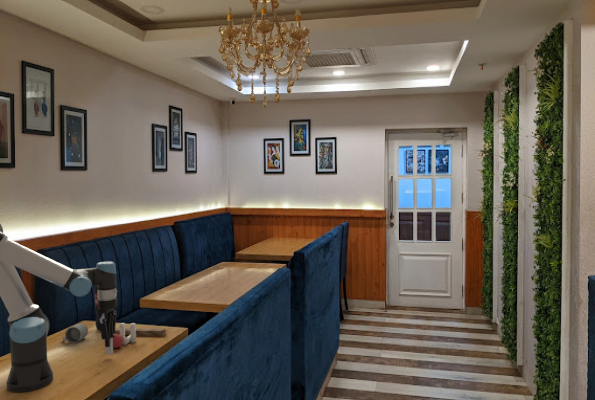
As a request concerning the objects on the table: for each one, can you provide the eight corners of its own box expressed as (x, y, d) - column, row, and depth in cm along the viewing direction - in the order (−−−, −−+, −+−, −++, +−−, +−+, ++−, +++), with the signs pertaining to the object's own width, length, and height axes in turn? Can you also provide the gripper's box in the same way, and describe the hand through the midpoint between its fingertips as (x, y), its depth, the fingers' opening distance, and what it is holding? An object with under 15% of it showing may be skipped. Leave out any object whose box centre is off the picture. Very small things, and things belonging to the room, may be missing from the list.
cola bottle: (100, 326, 241) (98, 268, 239) (116, 326, 240) (114, 268, 239) (92, 331, 232) (90, 272, 231) (109, 331, 232) (107, 272, 230)
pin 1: (120, 343, 215) (119, 325, 215) (119, 341, 217) (119, 323, 217) (125, 342, 216) (125, 324, 216) (125, 340, 218) (124, 322, 218)
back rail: (165, 333, 227) (165, 328, 227) (163, 335, 224) (163, 330, 224) (117, 333, 229) (117, 328, 229) (115, 335, 226) (114, 330, 226)
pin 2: (130, 343, 215) (130, 325, 215) (130, 341, 217) (129, 323, 217) (136, 342, 216) (135, 324, 216) (135, 340, 218) (135, 322, 218)
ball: (118, 348, 212) (116, 352, 207) (107, 341, 211) (104, 345, 206) (126, 337, 213) (124, 340, 207) (115, 330, 212) (113, 333, 206)
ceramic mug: (89, 337, 224) (88, 321, 224) (81, 343, 216) (80, 327, 215) (67, 337, 224) (67, 322, 224) (58, 343, 216) (57, 327, 216)
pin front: (123, 338, 213) (131, 332, 221) (121, 343, 213) (129, 336, 222) (128, 341, 213) (135, 335, 221) (125, 345, 213) (133, 339, 222)
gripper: (108, 302, 190) (110, 359, 191) (122, 294, 203) (124, 347, 204) (91, 302, 190) (93, 359, 191) (105, 294, 203) (107, 347, 204)
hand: (109, 353), depth 198 cm, fingers closed
